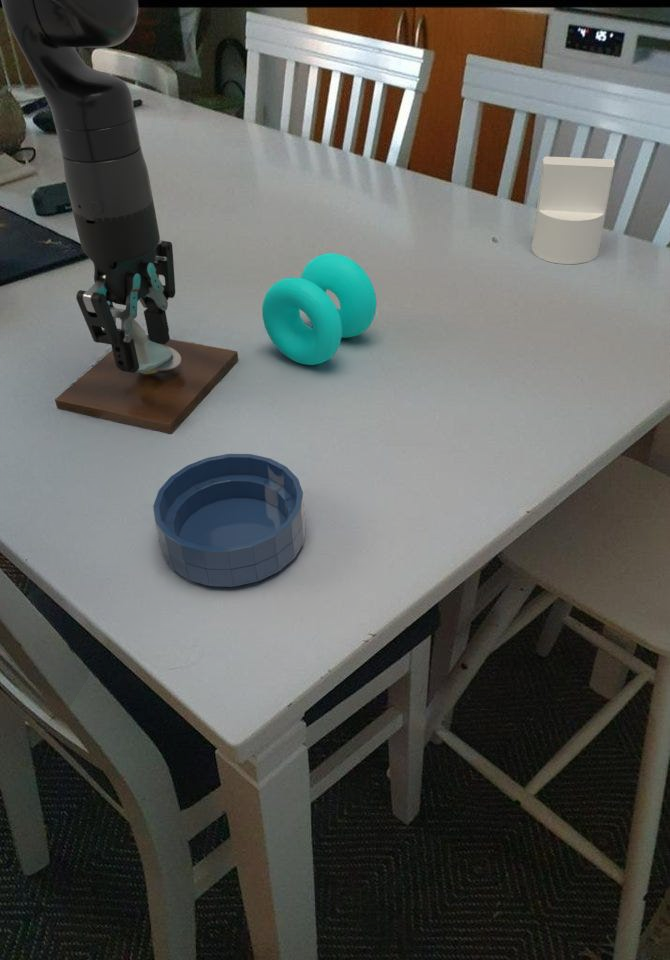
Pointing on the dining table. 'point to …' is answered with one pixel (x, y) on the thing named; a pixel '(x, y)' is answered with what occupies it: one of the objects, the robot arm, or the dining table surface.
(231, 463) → the bowl
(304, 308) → the donuts
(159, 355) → the pacifier
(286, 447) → the dining table surface
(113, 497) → the dining table surface
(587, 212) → the cylinder with rectangular tab
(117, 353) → the robot arm
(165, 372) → the board
